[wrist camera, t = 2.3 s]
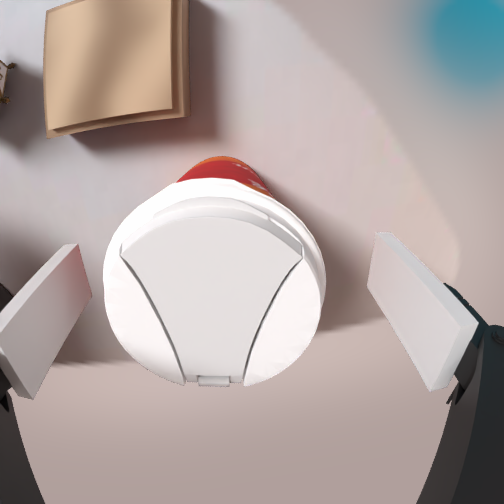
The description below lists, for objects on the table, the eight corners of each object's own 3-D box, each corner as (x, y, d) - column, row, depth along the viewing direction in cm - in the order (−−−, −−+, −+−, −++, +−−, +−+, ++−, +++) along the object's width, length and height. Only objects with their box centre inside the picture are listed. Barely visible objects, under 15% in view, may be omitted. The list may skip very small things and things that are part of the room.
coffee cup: (272, 245, 25) (314, 395, 12) (170, 243, 25) (118, 391, 11) (279, 140, 22) (359, 196, 8) (166, 138, 21) (68, 192, 8)
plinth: (68, 133, 20) (42, 140, 16) (67, 19, 16) (42, 9, 12) (190, 116, 21) (182, 117, 17) (189, -7, 16) (181, -28, 13)
